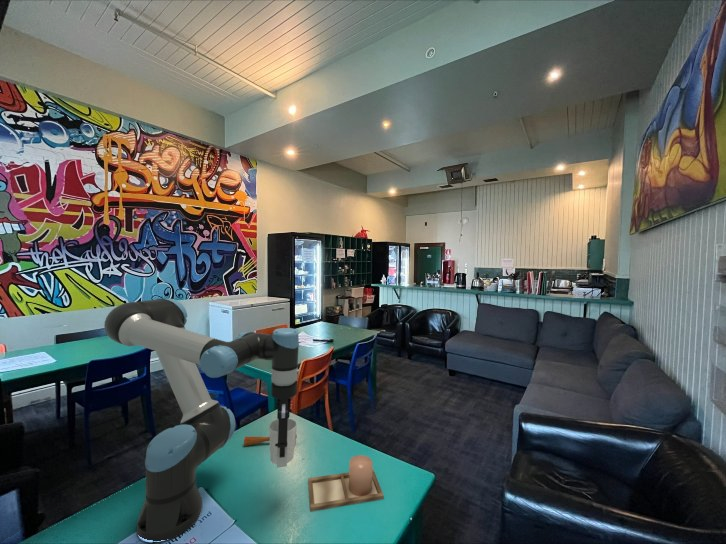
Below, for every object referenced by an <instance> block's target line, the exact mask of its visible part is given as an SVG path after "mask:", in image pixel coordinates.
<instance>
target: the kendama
mask: <svg viewBox="0 0 726 544" xmlns="http://www.w3.org/2000/svg"><path fill="white" fill-rule="evenodd" d="M297 437H298V435H297V433H296V440H297ZM296 440H295V442H296ZM264 442H265V443H266V442H270V436H245V437H244V440H243V445H244V446H243V447H247V446H252V445H257V444H261V443H264Z"/></svg>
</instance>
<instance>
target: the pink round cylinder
mask: <svg viewBox="0 0 726 544" xmlns="http://www.w3.org/2000/svg"><path fill="white" fill-rule="evenodd" d="M373 464H374V462H373V460H372V459H371V457H370V456H367V455H364V454H358V455H354V456H352V457H351V458H350V459H349V463H348V466H349V470H348V471H349V490H350V492H351V493H352V494H354V495H356V496H365V495H368V494H369V493H370V492H371V490H372V469H373Z"/></svg>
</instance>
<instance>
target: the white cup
mask: <svg viewBox="0 0 726 544" xmlns="http://www.w3.org/2000/svg"><path fill="white" fill-rule="evenodd" d="M297 423H298V422H297V420H295V419H293V418H290V417H289V418H288V425H287V464H289V463H290V462H291V461H292V460H293V459H294V457H295V456H294V455H295V448H296V441H295V440H297V438H296V434H297V426H298V424H297ZM278 427H279V419H277V418H276V419H275V420H273V421H271V423H270V424H269V428H268V429H269V437H270V441H269V452H270V454H269V455H270V461H271V462H272V464H274V465H276V466H277V447H278V446H275V444H277V443H278Z"/></svg>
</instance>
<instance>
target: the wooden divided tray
mask: <svg viewBox="0 0 726 544" xmlns="http://www.w3.org/2000/svg"><path fill="white" fill-rule="evenodd" d="M307 481H308V482H307V483H308V484H307V485H308V495H309V496H308V497H309V509H310V511H309V512H315V511H321V510H327V509H328V510H329V509H333V508H338V507H339V508H340V507H344V506H350V505H354V504H356V505H357V504H364V503H368V502H375V501H380V500H384V498H385V496H384V493H383V491H382V487H381V485H380V483H379V480H378V477H377V475H376V473H375V469H374V468H372V490H371V492H370V493H369V494H368V495H365V496H356V495H354V494H352V493H351V492H350V490H349V472H341V473H336V474H328V475H327V474H326V475H321V476H314V477H309V478H308V479H307Z"/></svg>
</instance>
